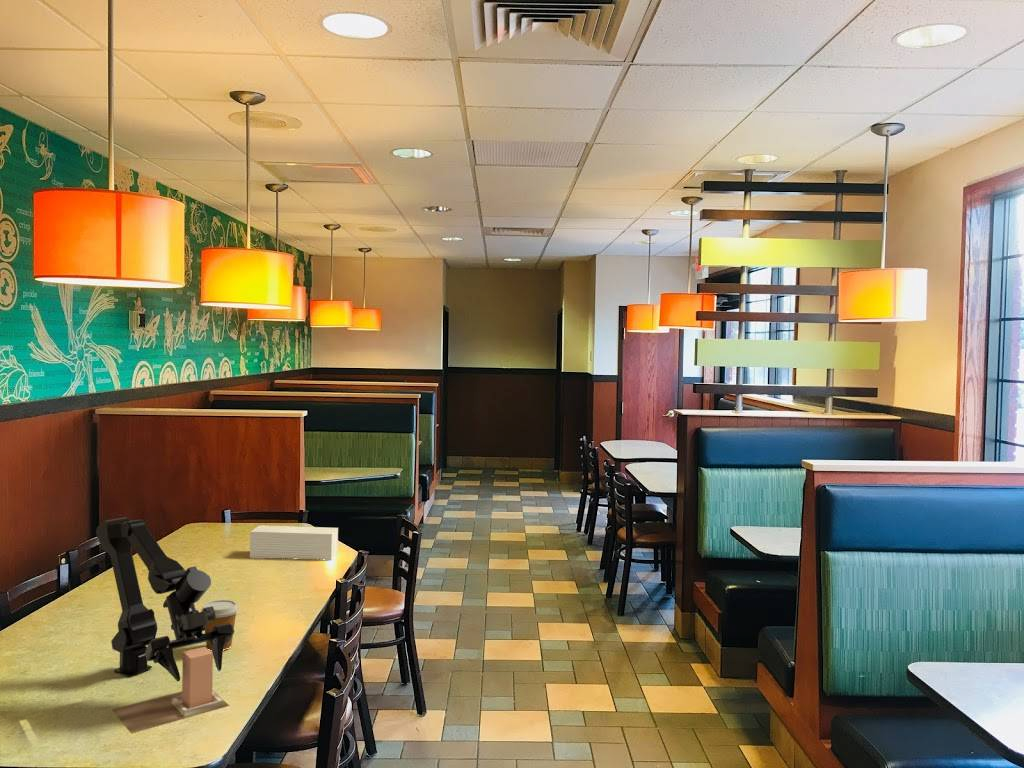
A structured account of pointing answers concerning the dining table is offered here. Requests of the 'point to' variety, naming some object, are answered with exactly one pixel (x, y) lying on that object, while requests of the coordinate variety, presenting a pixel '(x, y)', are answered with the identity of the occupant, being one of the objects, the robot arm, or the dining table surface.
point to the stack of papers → (293, 542)
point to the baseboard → (162, 711)
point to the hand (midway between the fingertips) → (199, 675)
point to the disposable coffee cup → (221, 617)
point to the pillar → (197, 677)
